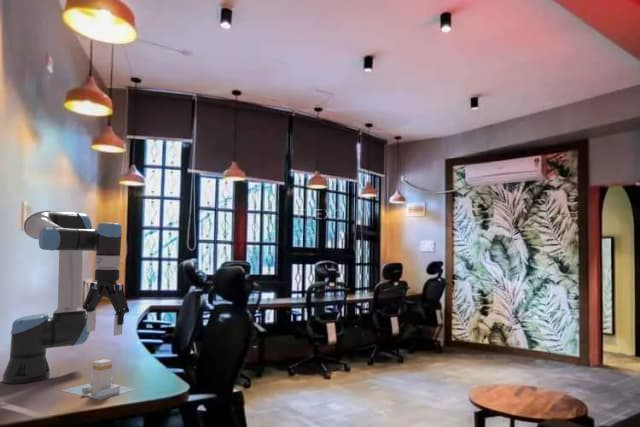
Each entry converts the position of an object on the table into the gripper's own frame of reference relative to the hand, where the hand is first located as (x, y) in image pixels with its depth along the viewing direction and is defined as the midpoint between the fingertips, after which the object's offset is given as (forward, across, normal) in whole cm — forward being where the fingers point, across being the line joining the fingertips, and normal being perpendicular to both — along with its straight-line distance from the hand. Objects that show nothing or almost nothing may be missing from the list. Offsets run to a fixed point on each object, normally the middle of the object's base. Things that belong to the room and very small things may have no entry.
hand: (104, 333), depth 156 cm
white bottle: (+19, +1, 0) cm, 19 cm away
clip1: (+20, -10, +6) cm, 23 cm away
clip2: (+20, -4, +6) cm, 21 cm away
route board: (+21, -4, +3) cm, 21 cm away
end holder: (+20, +1, 0) cm, 20 cm away
